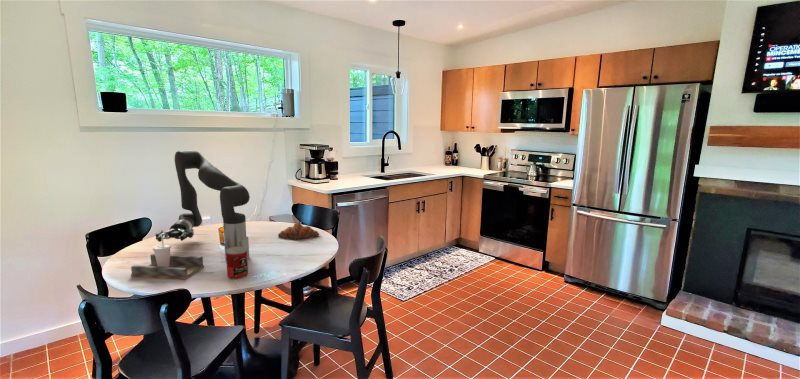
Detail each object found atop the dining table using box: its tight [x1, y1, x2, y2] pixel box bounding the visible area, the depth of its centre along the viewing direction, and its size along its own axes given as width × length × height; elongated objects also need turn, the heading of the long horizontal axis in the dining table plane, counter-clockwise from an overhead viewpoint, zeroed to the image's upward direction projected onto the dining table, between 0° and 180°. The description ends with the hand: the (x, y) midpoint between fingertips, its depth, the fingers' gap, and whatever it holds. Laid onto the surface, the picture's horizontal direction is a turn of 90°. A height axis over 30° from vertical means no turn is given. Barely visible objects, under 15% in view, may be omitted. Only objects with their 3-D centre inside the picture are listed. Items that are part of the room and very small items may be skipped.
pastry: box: [277, 222, 320, 241], centre depth 204 cm, size 17×15×8 cm
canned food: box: [225, 246, 249, 280], centre depth 151 cm, size 8×8×11 cm
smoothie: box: [152, 236, 172, 267], centre depth 152 cm, size 6×6×14 cm
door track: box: [130, 253, 205, 281], centre depth 153 cm, size 22×13×5 cm, turn 86°
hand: (170, 239), depth 161 cm, fingers open, 8 cm apart
